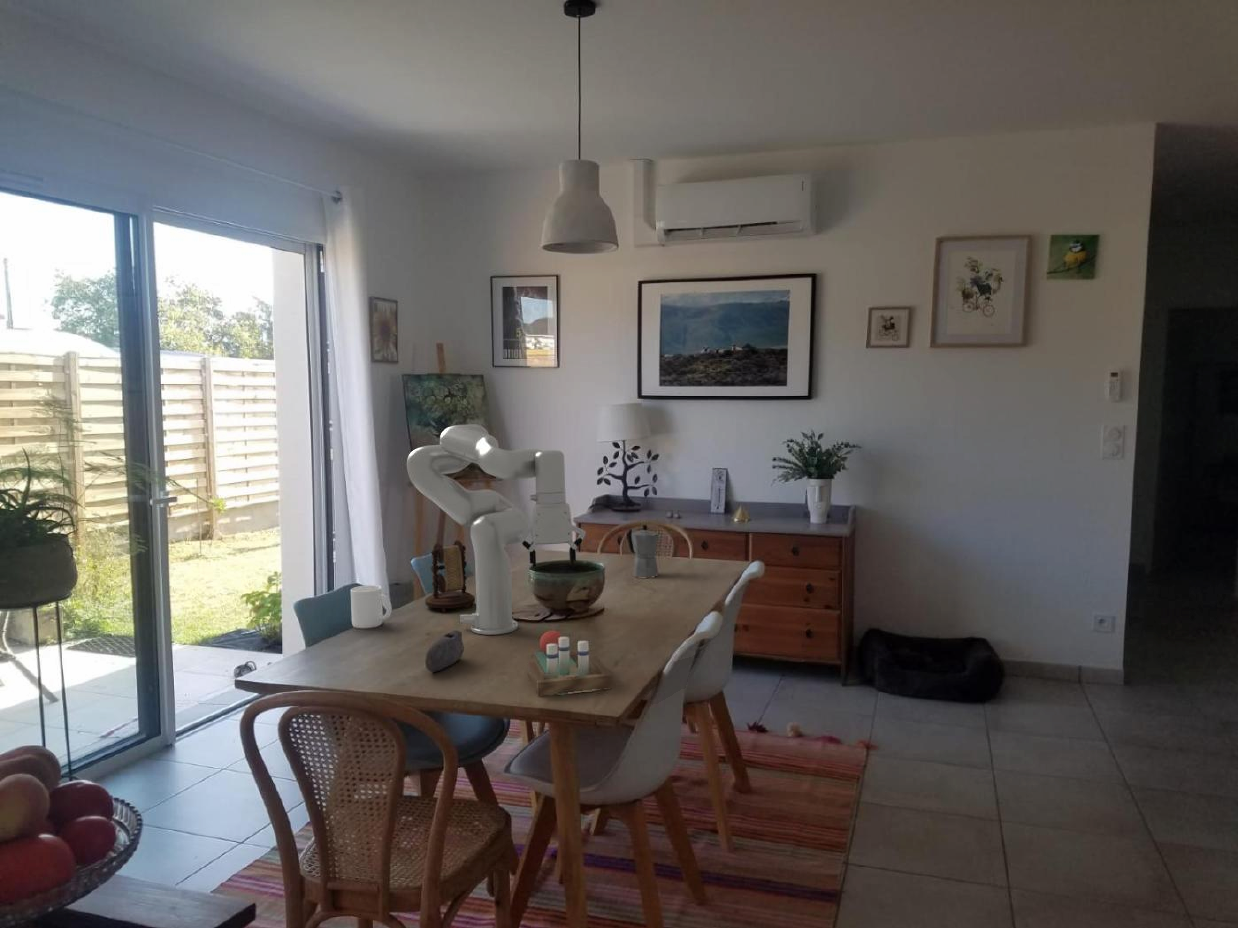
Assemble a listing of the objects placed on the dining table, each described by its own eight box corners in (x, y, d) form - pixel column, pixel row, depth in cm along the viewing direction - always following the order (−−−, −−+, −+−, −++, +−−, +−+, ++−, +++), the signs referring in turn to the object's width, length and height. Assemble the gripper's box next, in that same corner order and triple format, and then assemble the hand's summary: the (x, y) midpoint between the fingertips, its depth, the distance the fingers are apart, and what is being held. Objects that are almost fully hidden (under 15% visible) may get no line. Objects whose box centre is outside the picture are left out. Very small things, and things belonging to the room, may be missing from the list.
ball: (540, 659, 199) (539, 634, 199) (540, 651, 205) (539, 628, 205) (564, 658, 200) (564, 634, 200) (564, 650, 206) (563, 627, 205)
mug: (400, 623, 233) (398, 586, 232) (382, 631, 225) (381, 593, 224) (364, 619, 237) (363, 584, 236) (345, 627, 229) (344, 590, 228)
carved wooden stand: (440, 615, 240) (438, 547, 238) (416, 606, 251) (414, 541, 250) (484, 606, 250) (482, 541, 248) (459, 598, 261) (457, 535, 259)
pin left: (547, 684, 182) (546, 646, 181) (547, 680, 184) (546, 643, 184) (558, 684, 182) (557, 646, 181) (558, 680, 185) (557, 643, 184)
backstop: (538, 696, 175) (537, 682, 175) (527, 675, 188) (527, 662, 188) (611, 688, 179) (611, 675, 179) (596, 668, 192) (596, 655, 192)
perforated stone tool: (436, 677, 188) (435, 647, 187) (416, 675, 189) (415, 645, 189) (469, 657, 202) (469, 629, 201) (450, 655, 203) (450, 628, 203)
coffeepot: (668, 576, 289) (668, 525, 287) (649, 580, 282) (649, 528, 281) (636, 570, 300) (636, 520, 298) (618, 574, 293) (617, 523, 292)
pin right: (578, 681, 184) (577, 644, 183) (578, 677, 186) (577, 640, 185) (589, 681, 184) (588, 643, 183) (588, 677, 186) (588, 640, 186)
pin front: (559, 676, 187) (558, 640, 186) (559, 673, 189) (558, 636, 189) (569, 676, 187) (569, 639, 186) (569, 672, 190) (569, 636, 189)
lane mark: (534, 653, 204) (534, 652, 204) (566, 650, 206) (566, 649, 206) (557, 695, 175) (557, 694, 175) (594, 691, 177) (594, 690, 177)
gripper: (517, 502, 206) (519, 569, 208) (586, 498, 209) (588, 565, 210) (516, 498, 214) (518, 564, 215) (582, 495, 217) (584, 560, 218)
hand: (553, 565), depth 213 cm, fingers open, 9 cm apart
